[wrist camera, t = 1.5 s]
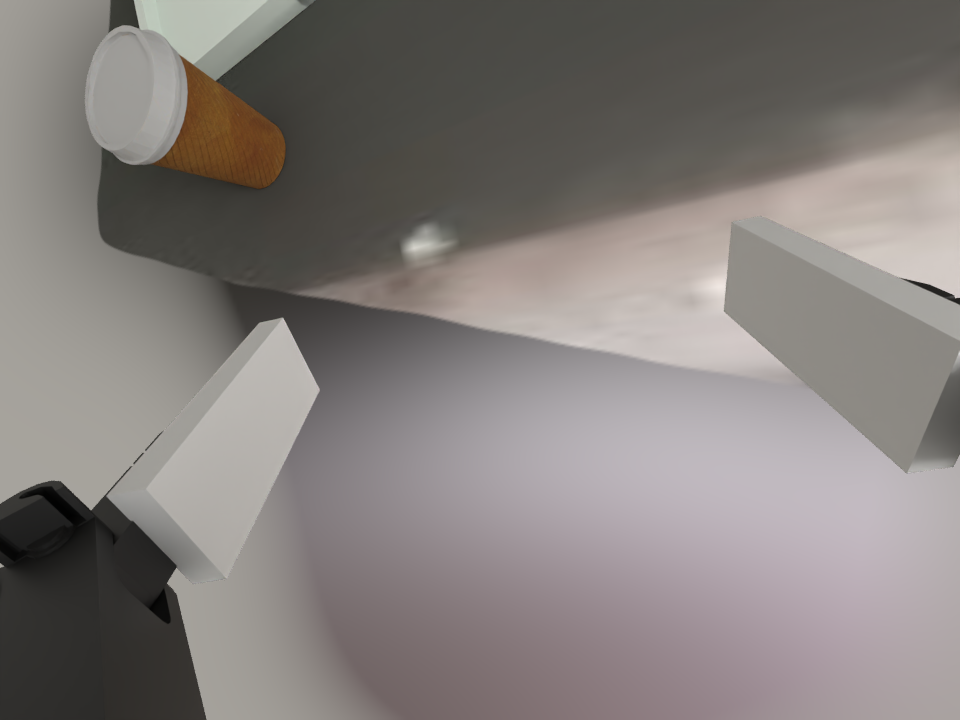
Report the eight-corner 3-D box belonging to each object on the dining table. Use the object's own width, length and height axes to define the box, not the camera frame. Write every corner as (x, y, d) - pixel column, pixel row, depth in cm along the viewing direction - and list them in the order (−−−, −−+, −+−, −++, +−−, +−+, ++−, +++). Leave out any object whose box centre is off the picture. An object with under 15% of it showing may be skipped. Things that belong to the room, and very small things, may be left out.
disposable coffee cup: (304, 190, 40) (165, 132, 29) (234, 216, 44) (87, 173, 33) (293, 88, 40) (150, -7, 29) (223, 123, 44) (75, 50, 33)
